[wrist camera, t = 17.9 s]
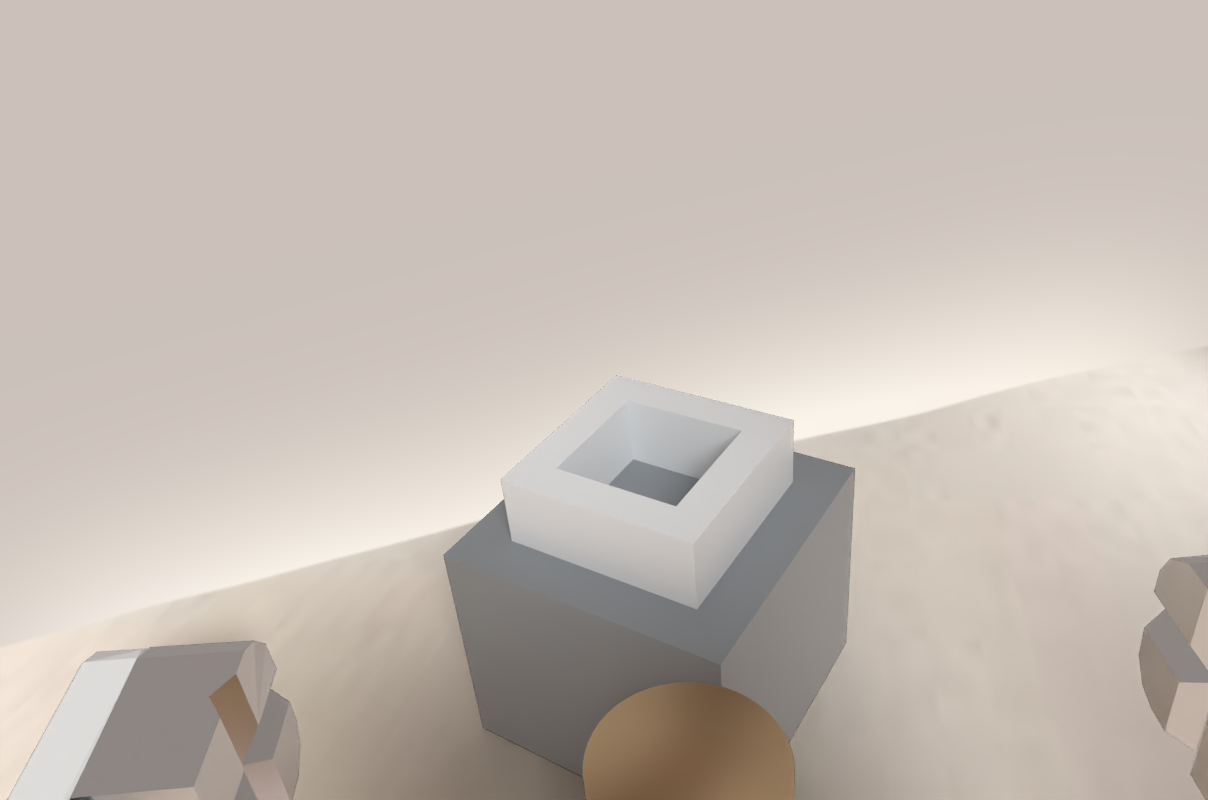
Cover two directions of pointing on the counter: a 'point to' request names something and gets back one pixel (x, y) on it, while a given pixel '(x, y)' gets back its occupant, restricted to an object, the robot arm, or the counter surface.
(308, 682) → the counter surface
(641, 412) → the grey box with opening
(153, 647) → the robot arm
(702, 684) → the stopper
